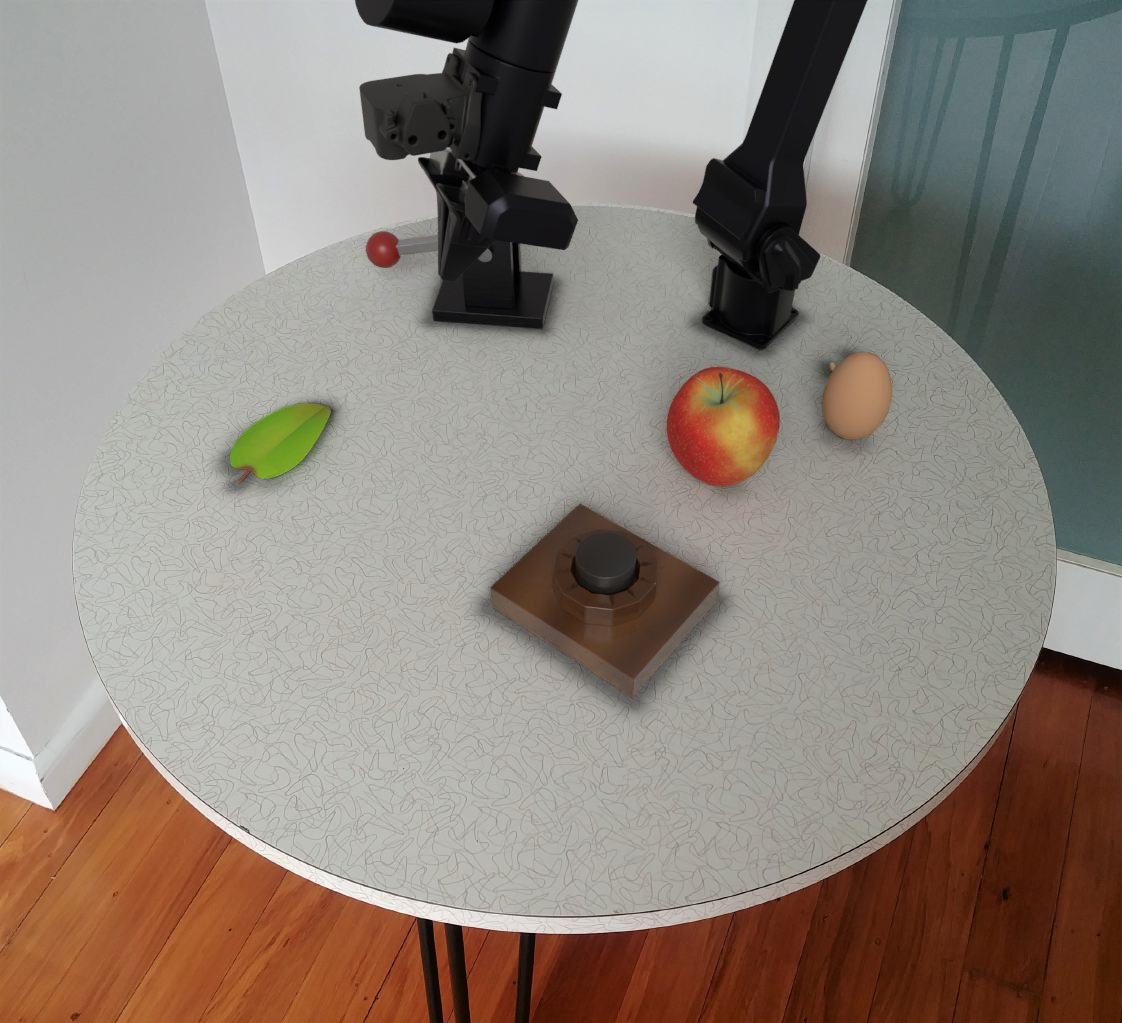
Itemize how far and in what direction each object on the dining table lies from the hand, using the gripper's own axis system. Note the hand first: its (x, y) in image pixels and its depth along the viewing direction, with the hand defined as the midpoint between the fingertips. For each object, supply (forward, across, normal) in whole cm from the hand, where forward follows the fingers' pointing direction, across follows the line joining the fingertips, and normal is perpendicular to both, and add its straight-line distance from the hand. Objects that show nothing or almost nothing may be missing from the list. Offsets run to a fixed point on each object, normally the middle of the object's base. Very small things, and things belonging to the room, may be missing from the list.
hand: (446, 278), depth 74 cm
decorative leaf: (+19, -6, -7) cm, 21 cm away
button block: (+14, +19, +9) cm, 25 cm away
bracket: (+10, -16, +14) cm, 23 cm away
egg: (+4, +12, +32) cm, 35 cm away
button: (+10, +20, +8) cm, 23 cm away
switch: (+7, -19, +8) cm, 22 cm away
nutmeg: (+2, +5, +36) cm, 37 cm away
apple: (+8, +11, +22) cm, 26 cm away
